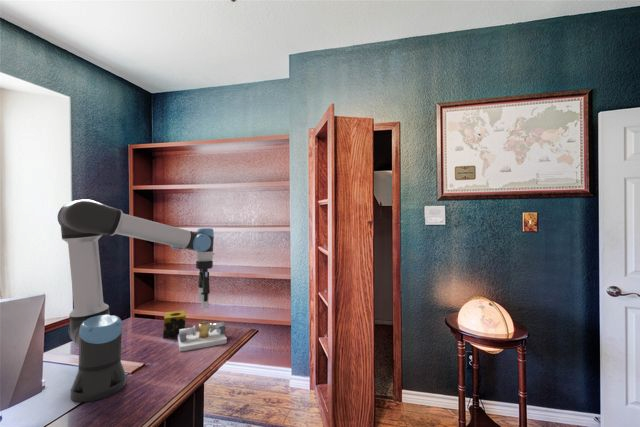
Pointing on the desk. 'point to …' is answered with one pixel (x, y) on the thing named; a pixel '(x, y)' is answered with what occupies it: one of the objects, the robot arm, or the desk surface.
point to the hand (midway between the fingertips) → (203, 304)
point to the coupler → (203, 329)
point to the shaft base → (198, 339)
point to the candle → (173, 323)
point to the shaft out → (217, 327)
